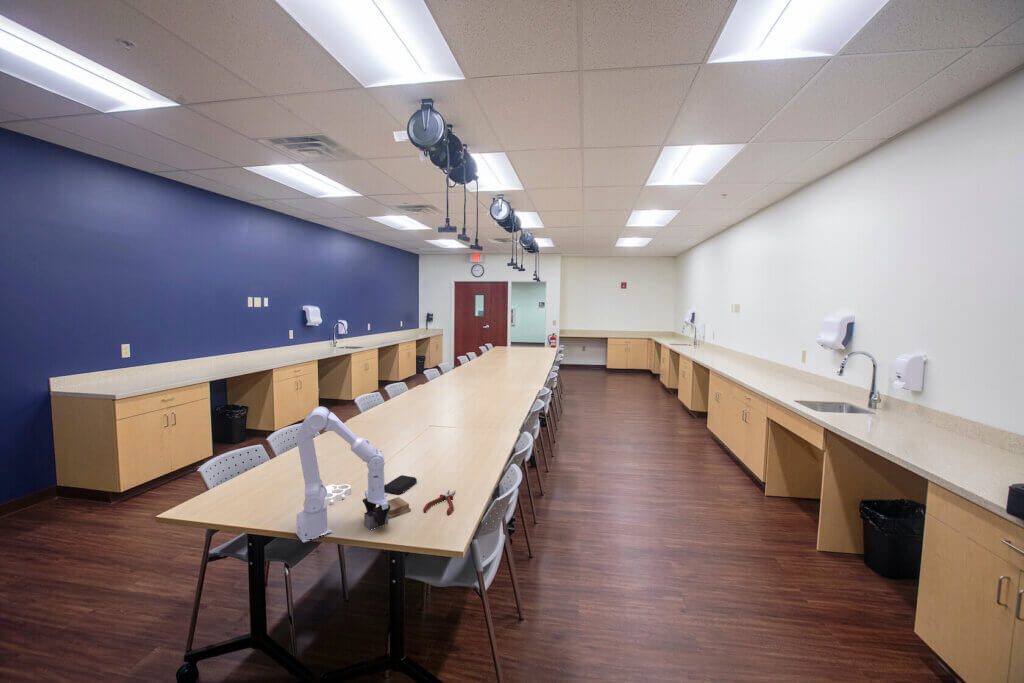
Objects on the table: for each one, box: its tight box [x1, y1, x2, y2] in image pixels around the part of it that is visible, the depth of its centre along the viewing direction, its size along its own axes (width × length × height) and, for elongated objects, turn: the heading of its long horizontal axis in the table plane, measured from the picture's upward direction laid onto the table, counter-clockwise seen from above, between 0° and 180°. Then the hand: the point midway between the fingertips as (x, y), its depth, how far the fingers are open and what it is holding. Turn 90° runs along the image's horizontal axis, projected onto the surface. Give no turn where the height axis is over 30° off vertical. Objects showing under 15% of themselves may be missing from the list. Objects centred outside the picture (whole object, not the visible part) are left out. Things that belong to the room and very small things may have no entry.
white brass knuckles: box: [324, 483, 352, 506], centre depth 170 cm, size 3×18×15 cm
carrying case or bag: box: [384, 474, 418, 495], centre depth 183 cm, size 11×3×15 cm
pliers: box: [422, 489, 457, 516], centre depth 169 cm, size 12×20×3 cm, turn 170°
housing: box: [363, 510, 389, 531], centre depth 150 cm, size 4×7×5 cm, turn 134°
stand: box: [386, 496, 412, 520], centre depth 161 cm, size 9×9×3 cm
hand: (376, 521), depth 150 cm, fingers open, 7 cm apart
